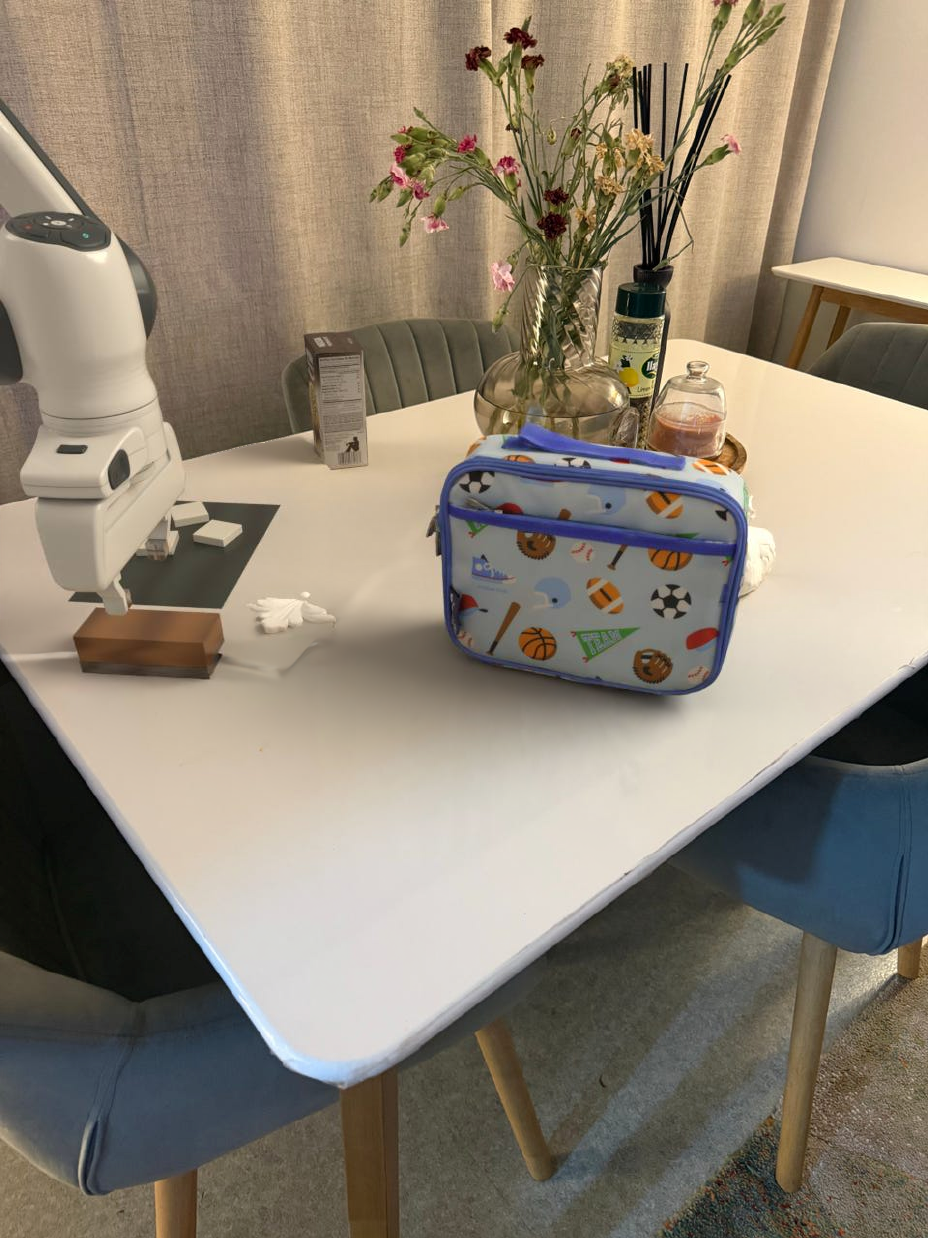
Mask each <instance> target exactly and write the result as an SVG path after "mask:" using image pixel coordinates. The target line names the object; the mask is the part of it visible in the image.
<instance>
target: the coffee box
mask: <svg viewBox="0 0 928 1238" xmlns="http://www.w3.org/2000/svg"><path fill="white" fill-rule="evenodd" d="M303 341H304V342H303V343H304V351H305V362H306V363H305V364H306V372H307V382H308V391H309V402H310V413H311V424H312V434H313V444H314V448H315V451H316V453H317V455H318V457H319V458H320V459H321V461H322V463H323V465H324V466H325V465H326V467H328V469H330V470H337V469H346V468H348V469H349V468H355V467H356V468H357V467H364V466H365V467H366V466H368V465H369V452H368V451H369V449H368V448H369V447H368V431H367V429H368V428H367V409H366V407H367V406H366V385H365V369H364V368H365V367H364V352H363V348H361V345H360V344H359V343H358V341H356V339H355V338H354V336H353V335H352V334H351V333H350V331H338V332H337V331H336V332H334V331H325V332H312V333H311V332H310V333H304V334H303Z"/></svg>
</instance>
